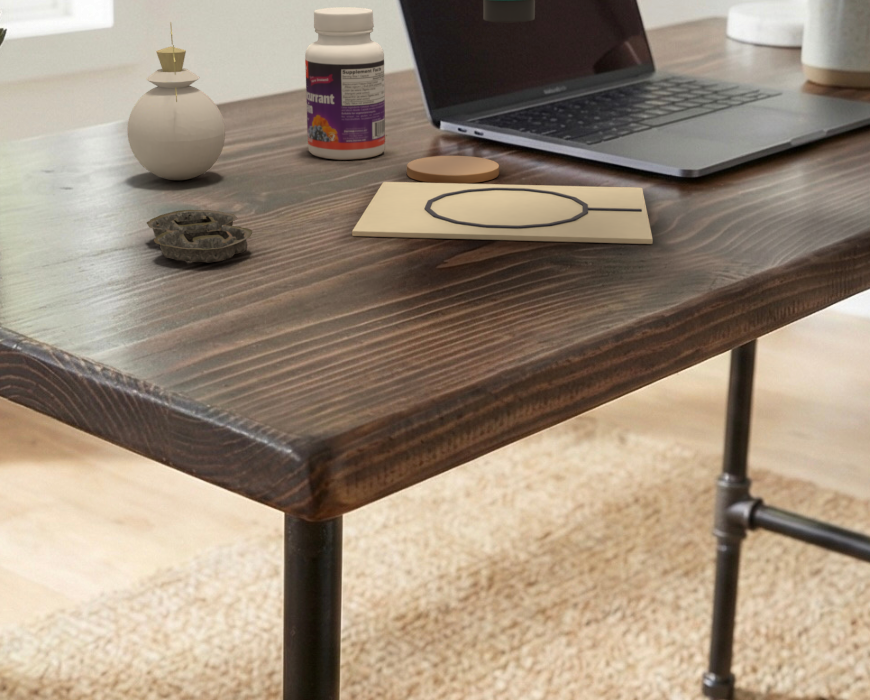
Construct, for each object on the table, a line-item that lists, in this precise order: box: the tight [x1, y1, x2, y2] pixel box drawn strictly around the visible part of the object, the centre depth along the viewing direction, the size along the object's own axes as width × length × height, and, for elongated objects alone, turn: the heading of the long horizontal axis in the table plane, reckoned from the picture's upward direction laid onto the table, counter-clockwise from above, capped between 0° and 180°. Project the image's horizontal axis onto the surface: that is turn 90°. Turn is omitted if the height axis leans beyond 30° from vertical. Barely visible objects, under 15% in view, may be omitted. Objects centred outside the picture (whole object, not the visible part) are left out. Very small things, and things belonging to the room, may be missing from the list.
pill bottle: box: [304, 6, 386, 161], centre depth 89 cm, size 5×5×10 cm
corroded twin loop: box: [146, 209, 253, 264], centre depth 67 cm, size 5×8×1 cm, turn 21°
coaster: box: [406, 155, 500, 184], centre depth 84 cm, size 6×6×1 cm
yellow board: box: [351, 181, 654, 245], centre depth 75 cm, size 16×12×1 cm
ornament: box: [127, 21, 226, 181], centre depth 81 cm, size 6×7×10 cm
